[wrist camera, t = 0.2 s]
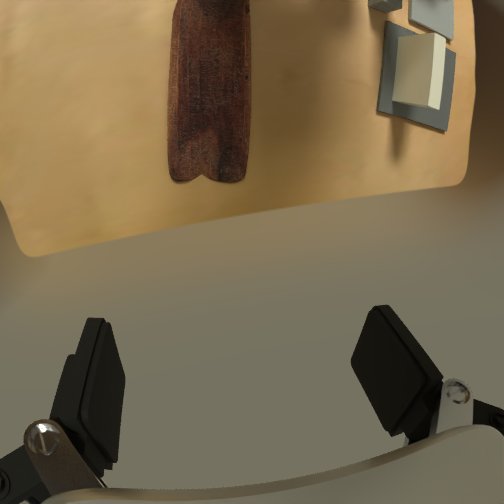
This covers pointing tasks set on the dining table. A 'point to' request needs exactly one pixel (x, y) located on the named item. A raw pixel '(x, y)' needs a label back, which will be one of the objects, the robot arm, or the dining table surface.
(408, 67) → the tile
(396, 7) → the brown grey t-shaped piece
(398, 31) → the rubber mat
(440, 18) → the pad
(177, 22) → the wooden tablet
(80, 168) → the dining table surface
